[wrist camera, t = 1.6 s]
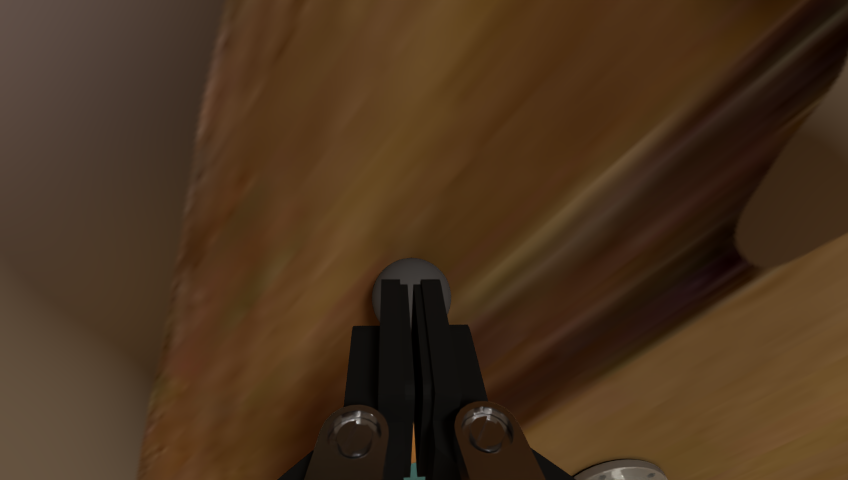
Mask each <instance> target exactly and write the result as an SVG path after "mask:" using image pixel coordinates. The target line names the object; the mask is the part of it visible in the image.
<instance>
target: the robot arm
mask: <svg viewBox="0 0 848 480" xmlns="http://www.w3.org/2000/svg"><path fill="white" fill-rule="evenodd" d="M413 424H414V437H415V453H416V470H417V477H425V480H668V479H667V478H666V476H665V474H664V472H663V471H662V470H661V469H660V468H659V467H658V466H656V465H654V464H652V463H649V462H646V461H642V460H632V459H625V460H615V461H610V462H606V463H602V464H599V465H596V466H593V467H591V468H589V469H587V470H584V471H583V472H581V473H579V474H578V475H576V476H575V477H572V476H570V475H569V474H567V473H566V472H565V471H563V470H562V469H560V468H559V467H557V466H556V465H555V464H553V463H552V462H550V461H549V460H547V459H546V458H545V457H543V456H542V455H540V454H539V453H537V452H536V451H535V450H533V449H532V448H530V446H529V444H528V442H527V440H526V438H525V436H524V434H523V431H522V429H521V427H520V425H519V423H518V422H517V420H516V419H515V417H514V416H513V415H512V414H511V413H510V412H509V411H508V410H507V409H506V408H504V407H502V406H500V405H498V404H496V403H492V402H488V399H487V395H486V391H485V387H484V383H483V379H482V375H481V372H480V368H479V364H478V360H477V356H476V352H475V348H474V344H473V340H472V336H471V332H470V329H469V326H468V325H449V323H448V318H447V313H446V307H445V302H444V297H443V292H442V286H441V281H440V279H421V281H420V284H414V285H413V300H412V322H411V325H410V311H409V296H408V284H400V279H381V304H380V326H353V329H352V337H351V346H350V355H349V364H348V373H347V382H346V391H345V400H344V407H343V408H341V409H339V410H337V411H336V412H334V413H332V414H331V415H330V416H329V417H328V418H327V420H326V421H325V422H324V424H323V426H322V428H321V430H320V433H319V436H318V439H317V442H316V445H315V448H314V450H313V451H311V452H310V453H309V454H308V455H307V456H305V457H304V458H303V459H302V460H301V461H299V462H298V463H297V464H296V465H294V466H293V467H292V468H291V469H290V470H288V471H287V472H286V473H285V474H284V475H282V476H281V477H280V478H279V479H278V480H404V478H410V475H411V458H412V441H413Z"/></svg>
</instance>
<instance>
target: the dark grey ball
mask: <svg viewBox="0 0 848 480" xmlns="http://www.w3.org/2000/svg"><path fill="white" fill-rule="evenodd" d="M381 279H400V284H408V296H409V311H410V325H411V322H412V300H413V285H414V284H420V281H421V279H440V281H441V286H442V292H443V297H444V302H445V307H446V313H447V314H448V311H449V309H450V304H451V292H450V287H449V284H448V281H447V279H446V278H445V276H444V275H443V273H442V272H441V271H440V270H439V269H438V268H437V267H436V266H435V265H433V264H431V263H430V262H427V261H425V260H422V259H417V258H406V259H401V260H398V261H396V262H394V263H392V264H390V265H389V266H387V267H386V268H385V269H384V270H383V271H382V272H381V273H380V275H379V276H378V278H377V279H376V282H375V284H374V287H373V292H372V305H373V309H374V312H375V315H376V317H377V319H378V320H379V322H380V304H381Z"/></svg>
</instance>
